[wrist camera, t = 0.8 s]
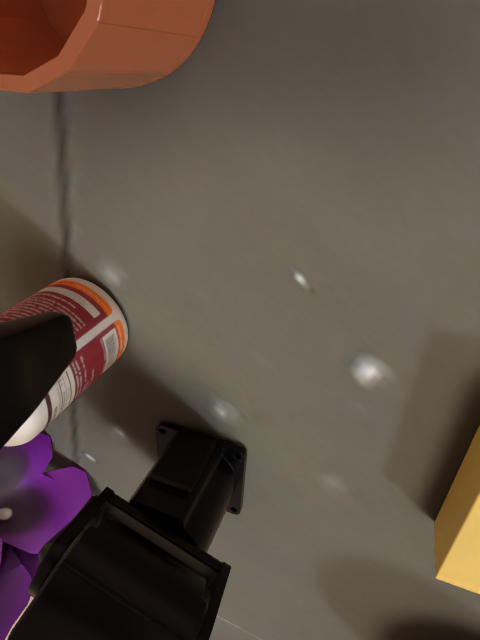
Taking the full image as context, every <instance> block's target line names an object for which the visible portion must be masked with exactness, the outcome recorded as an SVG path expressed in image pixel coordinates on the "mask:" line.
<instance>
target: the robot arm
mask: <svg viewBox="0 0 480 640" xmlns="http://www.w3.org/2000/svg"><path fill="white" fill-rule="evenodd" d="M76 351H77V344H76V338H75V333H74V327H73V322H72V319H71V318H70V316H68V315H67V314H63V313H59V312H54V311H49V312H45V313H40V314H36V315H31V316H27V317H22V318H18V319H13V320H9V321H4V322H0V450H1V449H2V448H3V447H4V445H5V444H6V443H7V442H8V441H9V440H10V439H11V438H12V436H13V435H14V434H15V433H16V432H17V431H18V430H19V429H20V427H21V426H22V425H23V424H24V423H25V422H26V421H27V420H28V418H29V417H30V416H31V415H32V414H33V412H34V411H35V410H36V409H37V407H38V406H39V405H40V404H41V402H42V401H43V400H44V398H45V397H46V395H47V394H48V393H49V391H50V390H51V389H52V387H53V386H54V385H55V383H56V382H57V380H58V379H59V378H60V376H61V375H62V374H63V372H64V371H65V370H66V368H67V367H68V365H69V364H70V363H71V361H72V360H73V359H74V357H75V355H76ZM156 433H157V449H158V460H157V461H156V463H155V464H154V465H153V467H152V468H151V470H150V471H149V473H148V474H147V476H146V477H145V478H144V480H143V481H142V483H141V484H140V486H139V487H138V488H137V490H136V491H135V493H134V494H133V496H132V497H131V499H130V500H129V501H128V502H127V501H126V500H124V499H122V498H121V497H119V496H118V495H116V494H115V493H114V491H113V490H112V489H110V488H108V487H106V488H105V489H104V490H103V491H102V493H101V494H100V495H99V496H97V495H96V496H91V497H90V499H89V500H88V501H87V502H86V504H85V505H84V506H83V507H82V509H81V510H80V511H79V512H78V514H77V515H76V516H75V517H74V518H73V519H72V520H71V521H70V522H69V523H68V524H67V525H66V526H65V527H63V528H62V529H61V530H60V531H59V532H58V533H57V534H56V535H54V536H53V537H52V538H51V539H50V540H49V541H48V542H47V543H45V544H44V546H43V547H42V548H41V550H40V551H39V553H38V564H39V567H38V568H37V570H36V572H35V575H34V578H33V580H32V582H31V584H30V586H29V588H28V591H27V592H28V594H29V595H31V596H32V597H34V599H33V600H32V602H31V603H30V605H29V606H28V608H27V609H26V611H25V612H24V614H23V615H22V616H21V618H20V619H19V621H18V622H17V624H16V625H15V627H14V628H13V629H12V631H11V633H10V635H9V637H8V640H209V638H210V635H211V632H212V629H213V626H214V622H215V619H216V616H217V612H218V609H219V606H220V602H221V599H222V596H223V593H224V589H225V586H226V583H227V579H228V576H229V573H230V569H231V566H230V565H228V564H227V563H225V562H220V561H219V560H217V559H216V558H214V557H213V556H211V555H209V554H208V553H207V551H208V549H209V547H210V545H211V543H212V540H213V538H214V536H215V534H216V532H217V529H218V527H219V525H220V523H221V521H222V519H223V516H224V514H225V512H226V511H227V512H230V513H232V514H240V511H241V509H242V504H243V492H244V481H245V470H246V459H247V452H246V450H245V449H244V448H242V447H240V446H237V445H234V444H231V443H228V442H225V441H222V440H219V439H216V438H213V437H210V436H207V435H204V434H200V433H197V432H194V431H191V430H188V429H185V428H182V427H179V426H176V425H173V424H170V423H167V422H160V423H159V425H158V426H157V428H156ZM239 454H240V455H239Z"/></svg>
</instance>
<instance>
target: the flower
mask: <svg viewBox="0 0 480 640" xmlns="http://www.w3.org/2000/svg"><path fill="white" fill-rule="evenodd" d="M52 457H53V456H52V447H51V437H49V436H47V435H45V434H43V433H41V432H40V433H39V434H38V435H37V436H36V437H35V438H33V439H32V440H30V441H29V442H27V443H24V444H22V445H17V446H4V447H3V448H2V449H1V450H0V640H5V638H6V636H7V634H8V632H9V631H10V629H11V627H12V625H13V624H14V623H15V621H16V620H17V618H18V617H19V616H20V614H21V613H22V611H23V610H24V609H25V607H26V606H27V604H28V602H29V599H30V596H31V595H29V594H28V592H27V591H28V588H29V586H30V584H31V582H32V580H33V578H34V575H35V572H36V570H37V568H38V567H39V564H38V553H39V551H40V550H41V548H42V547H43V546H44V544H45V543H47V542H48V541H49V540H50V539H51V538H52V537H53V536H54V535H56V534H57V533H58V532H59V531H60V530H61V529H62V528H63V527H65V526H66V525H67V524H68V523H69V522H70V521H71V520H72V519H73V518H74V517H75V516H76V515H77V514H78V512H79V511H80V510H81V509H82V507H83V506H84V505H85V504H86V502H87V501H88V500H89V499H90V497H91V496H92V493H91V489H90V485H89V481H88V478H87V474H86V472H84V471H82V470H80V469H78V468H75V467H68V468H64V469H59V470H54V471H50V472H45V473H43V472H44V470H45V468H46V467H47V465H48V464H49V462H50V460H51V459H52Z"/></svg>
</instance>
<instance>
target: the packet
mask: <svg viewBox="0 0 480 640" xmlns="http://www.w3.org/2000/svg"><path fill="white" fill-rule="evenodd" d="M434 539H435V577H436V578H437V579H439V580H442V581H445V582H448V583H450V584H453V585H456V586H458V587H461V588H464V589H467V590H469V591H472V592H475V593H477V594H480V425H479V427H478V429H477V432H476V434H475V436H474V438H473V440H472V442H471V445H470V447H469V449H468V451H467V453H466V455H465V457H464V460H463V462H462V464H461V466H460V468H459V470H458V473H457V475H456V477H455V479H454V481H453V483H452V485H451V488H450V490H449V492H448V494H447V496H446V498H445V501H444V503H443V505H442V507H441V509H440V511H439V513H438V516H437V518H436V520H435V522H434Z"/></svg>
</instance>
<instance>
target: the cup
mask: <svg viewBox="0 0 480 640" xmlns="http://www.w3.org/2000/svg"><path fill="white" fill-rule="evenodd" d="M214 3H215V0H0V90H1V91H11V92H21V93H41V92H60V91H79V90H98V89H117V88H135V87H139V86H141V85H145V84H150V83H153V82H155V81H158V80H161V79H162V78H164V77H166V76H168V75H169V74H171V73H172V72H173V71H175V70H176V69H177V68H178V67H180V66H181V65H182V64H183V62H184V61H185V60H186V59H187V58H188V57H189V56H190V55H191V53H192V52H193V50H194V49H195V47H196V46H197V45H198V43H199V41H200V39H201V37H202V35H203V33H204V32H205V30H206V27H207V25H208V22H209V19H210V17H211V14H212V11H213V7H214Z"/></svg>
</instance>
